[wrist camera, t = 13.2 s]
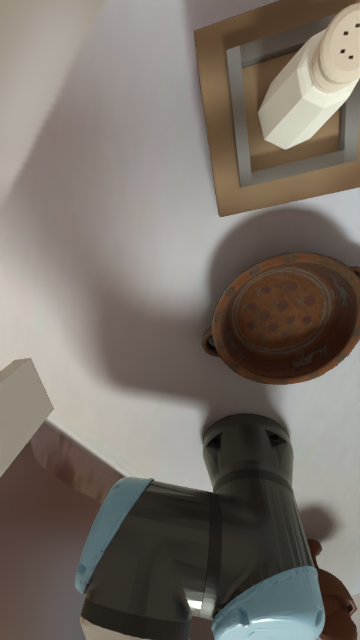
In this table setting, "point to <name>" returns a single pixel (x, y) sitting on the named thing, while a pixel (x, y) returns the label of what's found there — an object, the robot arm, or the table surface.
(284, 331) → the dish
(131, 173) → the table surface
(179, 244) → the table surface
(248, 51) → the display riser
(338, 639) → the ice cream bowl
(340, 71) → the pepper shaker
